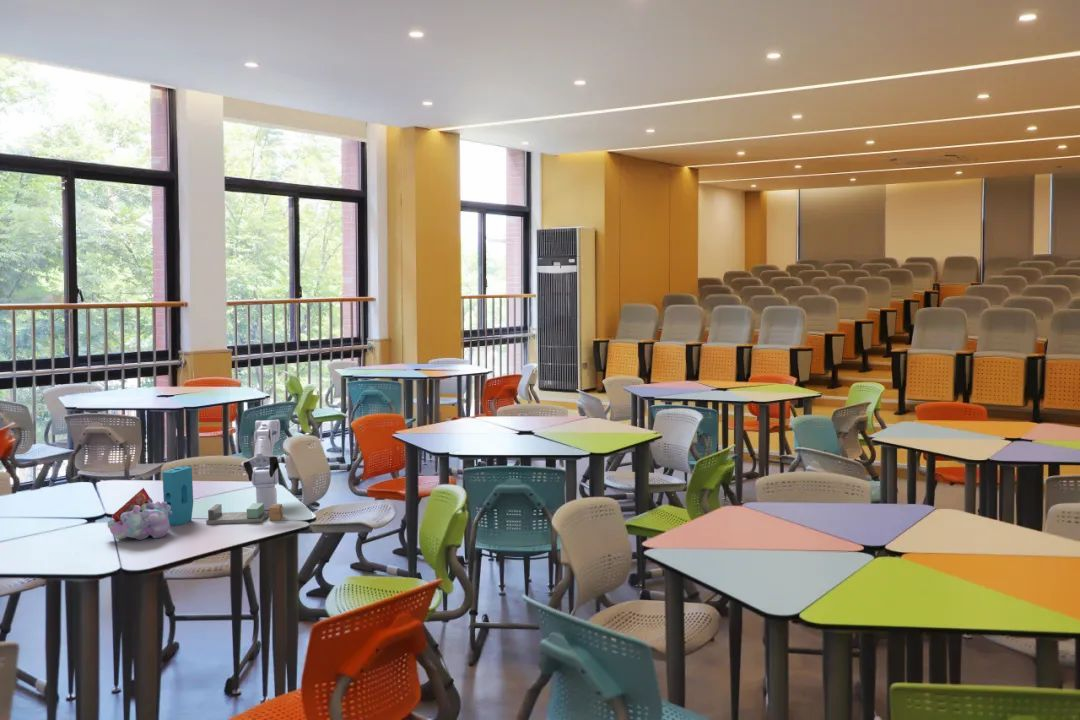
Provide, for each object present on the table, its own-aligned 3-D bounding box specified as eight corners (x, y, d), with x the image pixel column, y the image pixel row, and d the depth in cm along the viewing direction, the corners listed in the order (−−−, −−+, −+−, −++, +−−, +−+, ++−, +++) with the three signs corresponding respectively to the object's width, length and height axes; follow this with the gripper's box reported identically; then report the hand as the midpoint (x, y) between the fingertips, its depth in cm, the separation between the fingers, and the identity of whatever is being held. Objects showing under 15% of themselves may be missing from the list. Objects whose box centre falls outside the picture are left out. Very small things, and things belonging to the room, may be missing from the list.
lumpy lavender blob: (154, 532, 310) (165, 482, 319) (90, 531, 310) (102, 481, 318) (174, 549, 328) (184, 501, 337) (113, 548, 328) (124, 500, 336)
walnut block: (273, 517, 351) (272, 504, 350) (282, 516, 351) (282, 503, 350) (269, 520, 345) (269, 507, 344) (279, 520, 345) (278, 507, 344)
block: (175, 526, 338) (173, 472, 336) (163, 526, 339) (161, 472, 337) (195, 519, 349) (192, 466, 348) (183, 518, 350) (181, 466, 349)
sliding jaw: (253, 512, 352) (253, 503, 352) (264, 511, 352) (264, 502, 352) (246, 518, 342) (246, 509, 342) (257, 517, 342) (257, 508, 342)
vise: (216, 516, 352) (215, 503, 352) (269, 515, 353) (268, 502, 353) (206, 524, 341) (205, 511, 340) (261, 522, 342) (260, 509, 341)
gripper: (240, 448, 351) (237, 473, 340) (278, 441, 353) (277, 465, 342) (244, 461, 355) (242, 486, 345) (283, 455, 357) (282, 479, 346)
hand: (260, 477), depth 344 cm, fingers open, 7 cm apart
